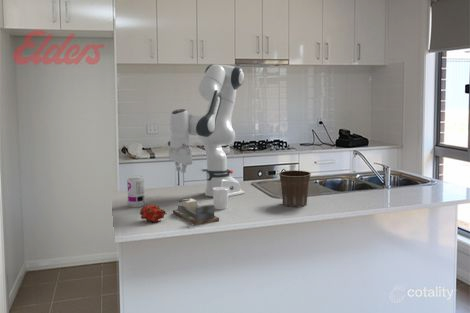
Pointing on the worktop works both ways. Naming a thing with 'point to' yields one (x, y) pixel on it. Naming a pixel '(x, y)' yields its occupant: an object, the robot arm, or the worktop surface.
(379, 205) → the worktop surface
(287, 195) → the plant pot
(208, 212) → the base
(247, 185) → the worktop surface
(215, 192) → the white cup
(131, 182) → the supplement can
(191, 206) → the cream block with rod
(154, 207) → the dragon fruit
